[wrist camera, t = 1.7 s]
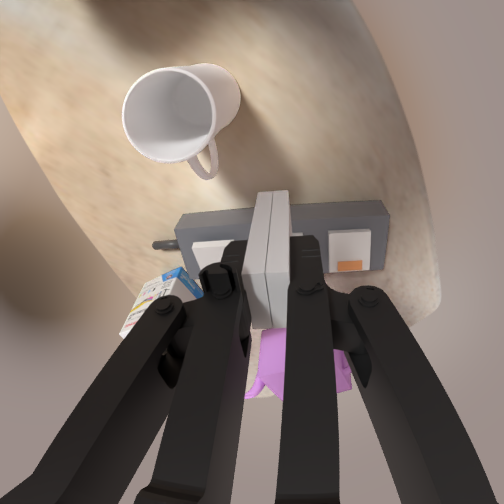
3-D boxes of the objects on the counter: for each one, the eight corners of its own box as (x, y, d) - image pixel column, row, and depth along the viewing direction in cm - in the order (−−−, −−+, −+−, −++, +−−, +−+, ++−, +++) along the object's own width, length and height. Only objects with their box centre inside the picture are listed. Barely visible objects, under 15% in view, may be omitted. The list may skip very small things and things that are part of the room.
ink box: (181, 264, 45) (157, 322, 36) (212, 302, 49) (197, 360, 40) (143, 282, 48) (116, 335, 39) (174, 315, 52) (154, 368, 43)
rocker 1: (193, 242, 36) (191, 249, 36) (233, 239, 36) (232, 246, 35) (204, 269, 40) (202, 276, 39) (241, 267, 39) (240, 274, 38)
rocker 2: (328, 230, 35) (329, 234, 34) (369, 228, 34) (371, 231, 33) (328, 268, 37) (329, 273, 36) (367, 266, 36) (369, 270, 35)
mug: (254, 150, 34) (241, 191, 24) (187, 164, 36) (149, 209, 26) (231, 54, 28) (204, 50, 18) (160, 75, 29) (107, 86, 20)
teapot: (343, 298, 46) (353, 364, 36) (359, 334, 51) (368, 395, 41) (234, 331, 53) (223, 392, 43) (260, 361, 58) (254, 417, 48)
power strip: (146, 218, 41) (135, 233, 38) (380, 200, 36) (389, 215, 33) (163, 264, 45) (154, 281, 42) (376, 252, 40) (382, 270, 37)
